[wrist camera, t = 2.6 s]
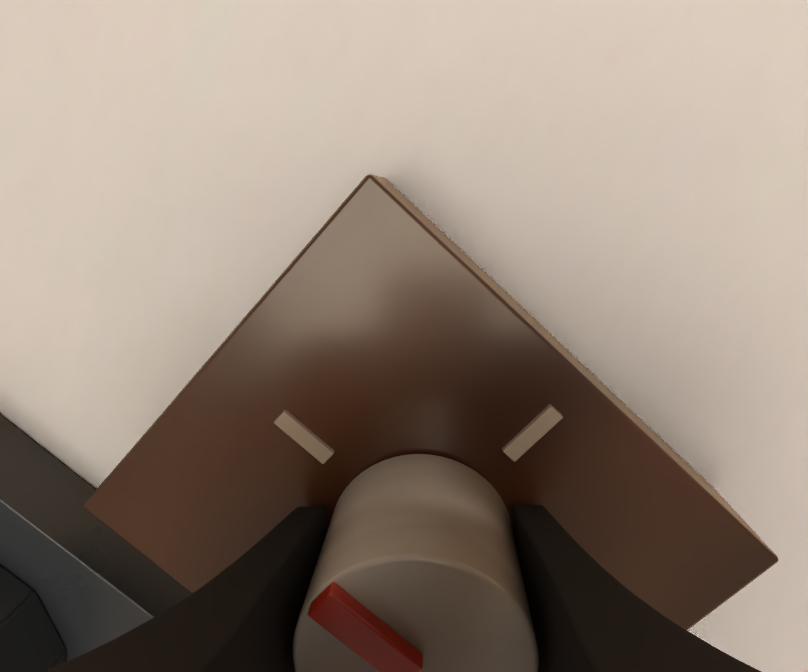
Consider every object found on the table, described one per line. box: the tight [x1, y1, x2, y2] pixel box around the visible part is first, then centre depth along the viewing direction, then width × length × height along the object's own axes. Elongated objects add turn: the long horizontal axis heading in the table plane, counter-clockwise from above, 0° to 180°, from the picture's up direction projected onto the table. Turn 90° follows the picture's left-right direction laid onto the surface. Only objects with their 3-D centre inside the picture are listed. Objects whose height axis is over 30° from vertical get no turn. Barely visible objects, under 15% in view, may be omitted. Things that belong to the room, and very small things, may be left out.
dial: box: [293, 454, 539, 672], centre depth 11 cm, size 4×4×4 cm
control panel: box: [84, 174, 778, 630], centre depth 14 cm, size 12×10×3 cm
